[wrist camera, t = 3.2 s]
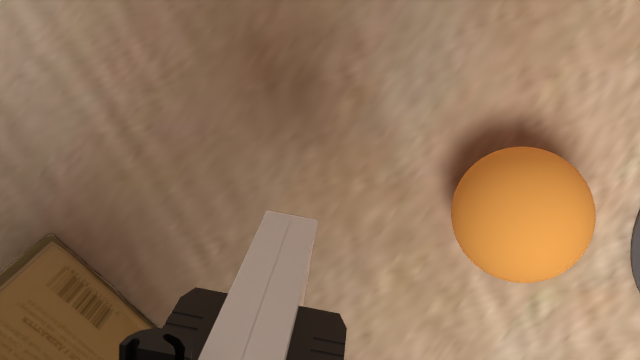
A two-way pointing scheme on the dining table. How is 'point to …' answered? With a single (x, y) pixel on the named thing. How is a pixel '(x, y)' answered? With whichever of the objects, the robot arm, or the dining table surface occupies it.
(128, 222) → the dining table surface
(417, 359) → the dining table surface
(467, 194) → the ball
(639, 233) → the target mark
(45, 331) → the food packaging
